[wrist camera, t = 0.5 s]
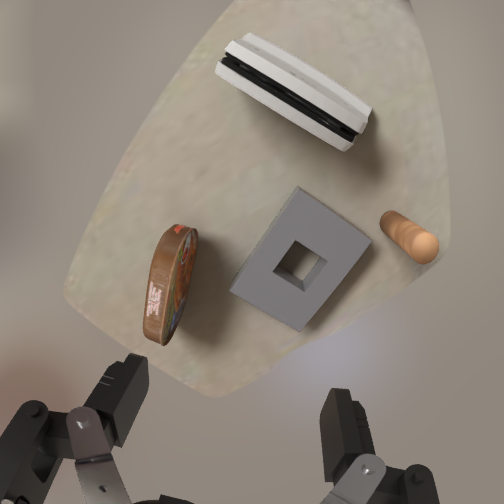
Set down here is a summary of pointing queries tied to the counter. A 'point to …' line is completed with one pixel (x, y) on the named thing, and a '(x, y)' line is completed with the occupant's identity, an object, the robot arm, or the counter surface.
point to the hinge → (294, 90)
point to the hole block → (322, 274)
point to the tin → (169, 282)
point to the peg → (410, 237)
